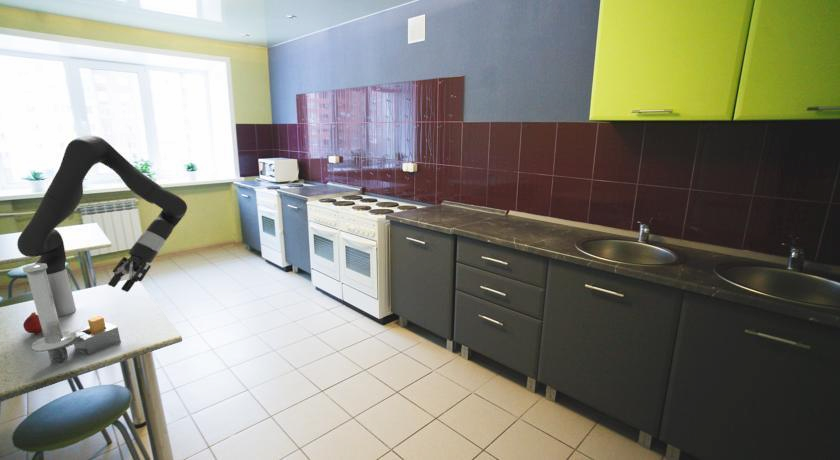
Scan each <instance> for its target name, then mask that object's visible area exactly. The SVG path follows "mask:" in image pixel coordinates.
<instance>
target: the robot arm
mask: <svg viewBox="0 0 840 460" xmlns="http://www.w3.org/2000/svg"><path fill="white" fill-rule="evenodd" d="M60 162H61V163H60V166H59V167H58V170H57V172H56V173H55V176H54V177H53V179H52V181H51V182H50V185H49V186H48V187H47V190H46V191H45V194H44V196H43V198H42V199H41V202H40V203H39V206H38V208H36V210H35V213H34V214H33V216H32V218H31V220H30V221H29V222H28V224H27V225H26V227H25V228H24V229H23V230H22V232H21V234H20V235H19V237H18V238H17V249H18V251H19V252H20V253H21V254H22V255H23V256H25V257H28V258H35V257H39V259H38V260H37V261H36V262H35V263H34V264H40V263H45V264H47V269H46V273H47V277H48V281H49V285H50V289H51V292H52V296H53V300H54V304H55V308H56V312H57V316H58V318H62V317H65V316H68V315H70V314H72V313H74V312H75V311H76V310H77V309H76V305H75V300H74V295H73V291H72V288H71V283H70V280H69V276H68V272H67V267H66V263H67V256H66V249H65V243H64V240H63V237H62V235H61V233H60V232H59V231H58V230H57V229H56V227H58V226H59V225H60V224H61V223H63V222H64V221H65V220H67V218H69V217H70V216H71V215H72V214H73V213H74V212H75V210H76V209H77V207H78V206H79V204H80V202H81V200H82V197H83V195H84V186H83V185H84V184H83V182H84V179H85V178H86V176H87V174H88V173H89V171H90V170H91V168H92V167H93V166H95V165H97V164H99V163H100V164H102V165H104V166H106V167H108V168H109V169H111V170H112V171H114V172H115V173H116V174H117V175H118V176H119V178H120V179H121V180H122V182H123V183H124V184H125V186H126V187H127V188H128V189H129V190H131V192H132V193H134V194H135V195H137V197H138V196H139V197H140V198H142V200H144V201H146V202H148V203H150V204H153V205H156V207H158V208H159V209H162V210H161V211H160V213H159V214H158V216H157V217H156V218H155V219H154V220H153V221H151V223H150V224H149V225H148V227H147V228H146V230H144V231H143V233H142V234H141V235H140V236H139V238H138V239H137V241H136V242H135V243H134V244H133V245H132V247H131V248H130V250H129V251H128V254H129V255H130V256H129V258H127V257H126V256H124V257H123V256H122V258H121V259H120V261H119V262H118V263H117V264H116V266H115V267H114V268H113V269H112V273H113V276H112V278H111V279H110V280H109V282H108V283H107V285H108V286H109V287H112V288H116V286H117V285H118V284H119V282H120V281H121V280H122V278H123V277H124V276H126V275H129V276H128V278H127V280H126V281H125V282H124V284H123V285H122V287H121V289H120V290H122V291H123V292H126V293H128V292H130V290H131V289H132V288H133V286H134V284H135V283H137V282H142V281H143V279H144V278H145V277H146V275H147V273H148V272H149V270H150V269H151V267H152V266H151V265H150V264H151V263H153V261H154V259H155V257H156V256H157V255H158V254H159V252H160V251H161V250H162V248H163V247H164V245H165V242H166V241H167V240H168V238H169V237H170V235H171V234H172V232H173V230H174V229H175V227H176V226H177V225H178V224H179V222H180V221H181V220H182V218H183V217H184V216H185V215H186V212H187V209H188V205H187V203H186V201H185V200H184V199H182V198H181V197H180V196H179V195H176V194H175V193H173V192H172V191H169V190H168V189H165V188H163V186H161V185H159V184H158V183H157V182H156V181H154V180H152V179H151V178H149V177H148V176H146V175H145V174H144V173H142V172H141V171H140V170H139V169H137V168H136V167H135V166H134V165H133V164H131V163H130V161H128V160H127V159H126V158H125V157H124V156H123V155H122V154H121V153H120V152H119V151H117V150H116V149H115V148H114V147H113V146H112V145H111V144H110V143H109V142H107V141H106V140H105V139H103V138H102V137H100V136H98V135H95V134H94V135H93V134H91V135H84V136H81V137H77V138H74V139H72V140H71V141H70V142H69V143H68V144H67V145H66V148H65V150H64V153H63V157H62V160H61V161H60Z"/></svg>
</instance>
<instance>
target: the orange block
mask: <svg viewBox="0 0 840 460" xmlns="http://www.w3.org/2000/svg"><path fill="white" fill-rule="evenodd" d="M87 321H88V322H87V323H88V326H89V327H90V331H91V334H93V333H96V332H99V331H101V330H104V329H106V327H105V322H106V321H105V318H104V317H103V316H100V315H97V316H95V317H92V318H89V319H87ZM104 321H105V322H104Z"/></svg>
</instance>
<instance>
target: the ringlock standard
mask: <svg viewBox="0 0 840 460" xmlns="http://www.w3.org/2000/svg"><path fill="white" fill-rule="evenodd" d="M46 269H47V264H45V263H40V264H35V263H34V264H33V263H32V264H30V265H26V266H24V267H22V271H23V273H26V277H27V280H28V284H29V287H30V292H31V295H32V299H33V303H34V305H35V309H36V314H37V315H38V317H39V321H40V324H41V328H42V332H41V333H42V334H43V337H41V338H39V339H37V340H36V341H34V342H33V343H32V344H31V349H32V351H33V352H36V353H44V352H47V353H48V357H49V361H50V364H51V365H57V364H58V365H59V364H62V363H64V362H66V361H68V360H69V355H68V350H67V348H68V347H70V346H73V347H74V349H76V350H78V351H80V352H81V353H84V354H85V355H87V356H91V355H93V354H95V353H98V352H99V351H102V350H105V349H107V348H109V347H112V346H114V345H117V344H119V343H121V337H120V331H119V328H118V326H116V325H114V324H112V323H109V322H106V320H104V322H105V327H106V329H104V330H101V331H99V332H96V333H93V334H91V331H90V327H89V325H87V326H85V327H82V328H80V329H77V330H74V331H62V327H61V324H60V321H59V317H58V316H57V312H56V308H55V304H54V300H53V296H52V292H51V289H50V285H49V281H48V277H47V273H46Z"/></svg>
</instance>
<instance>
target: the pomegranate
mask: <svg viewBox="0 0 840 460" xmlns="http://www.w3.org/2000/svg"><path fill="white" fill-rule="evenodd" d="M23 328H24V331H26V333H28V334H33V335H40V334H42V333H43V332H42V328H41V324H40V321H39V317H38V314H37V312H35V311H33V312H31V314H30V315H29V316H28V317H27V318H26V319H25V320H24V322H23Z"/></svg>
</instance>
